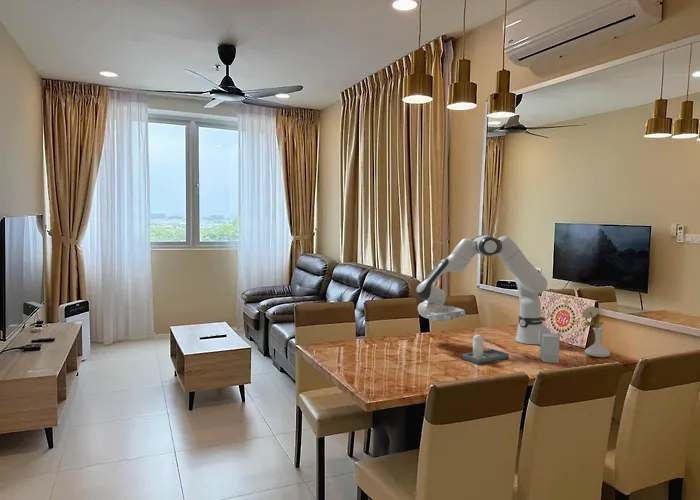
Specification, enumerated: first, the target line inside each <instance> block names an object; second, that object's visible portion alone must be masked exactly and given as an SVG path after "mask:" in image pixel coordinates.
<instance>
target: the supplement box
mask: <svg viewBox="0 0 700 500" xmlns="http://www.w3.org/2000/svg"><path fill="white" fill-rule="evenodd" d="M539 346H540V351H539V352H540V353H539V356H540V357H539V359H540V360H541V361H542V362H543V363H551V364H552V363H554V364H555V363H556V364H559V363H560V335H558V334H557V333H553V332H551V333H541V344H540V345H539Z"/></svg>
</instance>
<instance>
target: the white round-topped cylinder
mask: <svg viewBox="0 0 700 500" xmlns="http://www.w3.org/2000/svg"><path fill="white" fill-rule="evenodd" d="M483 350H484V337H483V336H482V335H480V334H475V335H474V336H473V337H472V352H473V357H474V358H477V359H480V358H483Z"/></svg>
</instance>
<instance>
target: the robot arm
mask: <svg viewBox="0 0 700 500" xmlns="http://www.w3.org/2000/svg"><path fill="white" fill-rule="evenodd" d="M478 254H479V255H481V256H486V257H490V256H494V255H498V256H499V258H500V260H502V261H503V263H504V265H505V266H506V268H507V269H508V270H509V272H510V273H512V274H513V275H514V276H515V284H516V287H517V293H518V297H519V299H518V300H519V315H518V323H517V331H516V336H515V341H516V342H518V343H521V344H526V345H538V346H540V344H541V333H552V332H551V329H549V327H547V326H546V325H545V324H544V322H546V320H547V318H546V317H545V316H542V301H541V300H540V297H539V294H540V293H541V294H542V293H544V292H545V291H546V290H547V288H548V281H547V279H546V277H545V276H543V274H541V272H540V271H538V269H537V268H536V267H535V266H534V265H533V264H532V263H531V262H530V261H529V260H528V259H527V257H526V256H525V255H524V253H523V252H522V250H521V249H520V248H519V246H518V245H517V243H516V242H515V241H513V240H512V239H511V237H509V236H508V235H502V236H500V237H498V238H495V237H493V236H490V235H487V234H486V235H485V234H484V235H483V234H482V235H478V236H476V237H474V238H468V237H466V238H462V239H461V240H460V241H459V242H458V243H457V244H456V245H455V247H454V248H453V250H452V252H451V253H450V254H449V255H448V256H447V257H446V258H442V259H441V260H440V261H438V262H437V264H435V266H434V267H433V268H432V270H430V272H429V273H428V274H427V275H426V277H425V278H424V279H423V280H421V281H420V282H419V284H417V285H416V289H415V293H416V297H418V299H420V300H423V301H422V302H420V303H419V304H418V305H417V312H418V315H420V316H421V317H423V318H425V319H428V320H430V321H431V320H432V321H434V322H441V323H442V322H445V321H451V320H453V319H454V320H455V319H460V318H462V319H464V318H466V316H467V314H466V310H465V309H463V308H460V307H454V305H446V302H447V293H446V291H444V290H442V288H439V287H437V286H435V285H434V284H435V283H436V282H437V280H438V279H439V278H440V277H441V276H442V274H444V273H447V272H450V273H451V272H452V273H459V272H464V270H465V269H466V268H467V267H468V266H469V264H470V262H471V261H472V260H473V258H474V256H476V255H478ZM543 321H544V322H543Z"/></svg>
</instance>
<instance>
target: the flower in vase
mask: <svg viewBox="0 0 700 500" xmlns="http://www.w3.org/2000/svg"><path fill="white" fill-rule="evenodd" d="M598 314H599V309H598V307H596V306H594V305H592V306H590V305H589V306H588V307H585V309H583V311H582V313H581V315H582V317H583V318H586V319H591V320H592V321H587V322H585V323H584V326H588V327H589V326H593V325H594V327H592V330H593V331H594V336H595V337H594V338H595V340H594V343H593V344H591V345H590V346H588V347H587V348H585V350H584V353H585V354H586V355H588V356H591V357H595V358H607V357H610V356H611V352H610V351H609V349H607V348H606V347H605V346H604V345H603V344H602V343H601V342H602V341H601V335H602V333H603V331H604V330H605V329H604V328H603V327H600V326H602V325H603V324H604V321H601V322H597V323H596V324H595V322H594V318H596V317H597V315H598Z"/></svg>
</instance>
